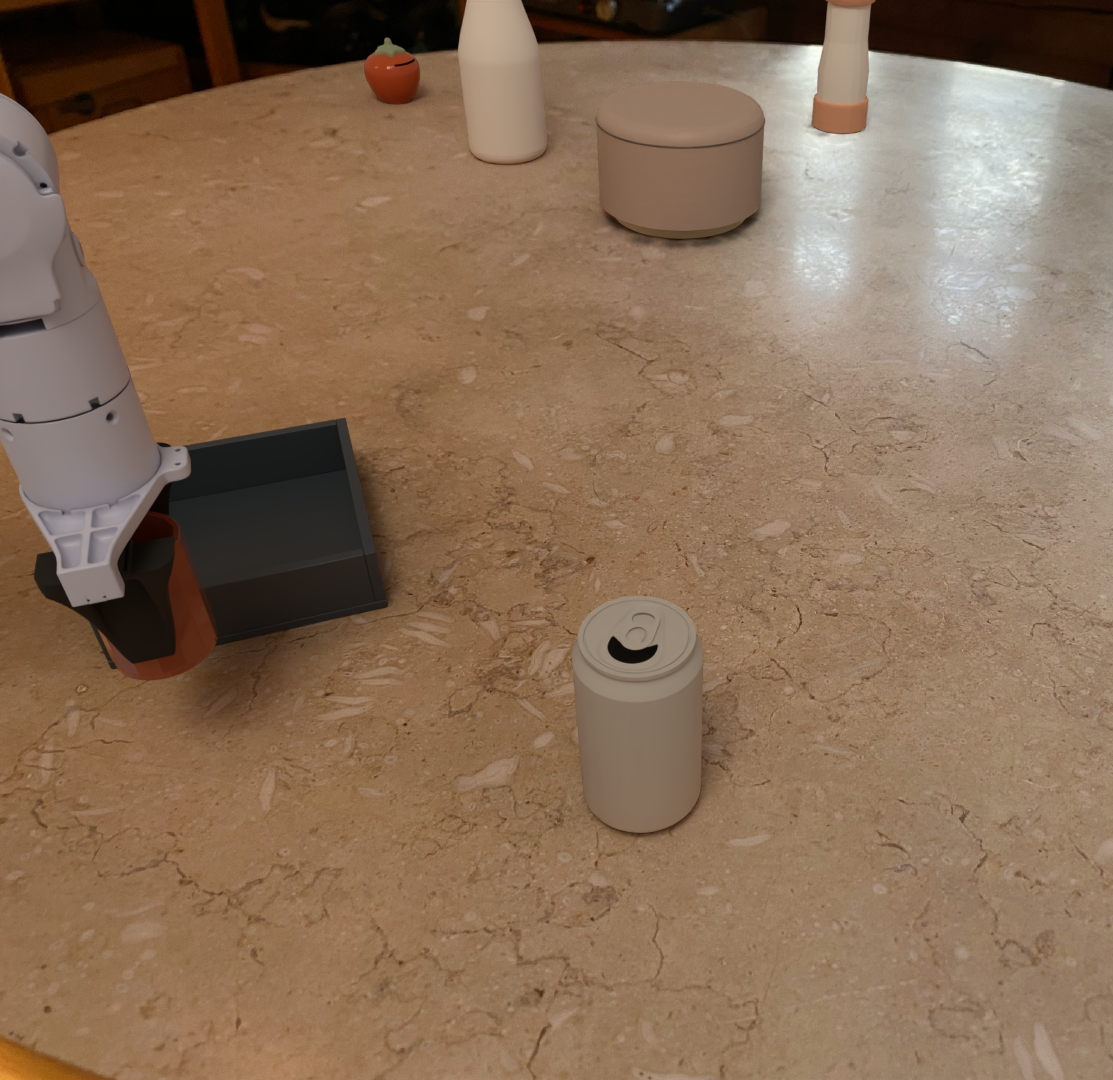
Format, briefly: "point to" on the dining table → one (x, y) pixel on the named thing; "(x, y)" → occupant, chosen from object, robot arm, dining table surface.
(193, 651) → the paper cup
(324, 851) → the dining table surface
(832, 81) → the pepper shaker
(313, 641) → the dining table surface
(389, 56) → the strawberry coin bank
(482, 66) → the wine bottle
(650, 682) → the beverage can
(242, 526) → the bin
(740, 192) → the container
